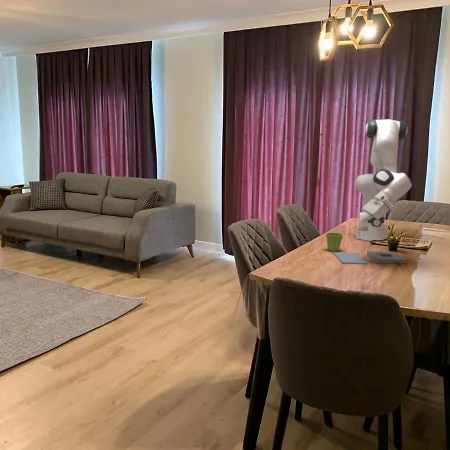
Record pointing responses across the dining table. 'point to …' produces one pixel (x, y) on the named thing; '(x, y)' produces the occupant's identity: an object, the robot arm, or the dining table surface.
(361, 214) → the white rounded cylinder
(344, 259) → the rubber mat
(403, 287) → the dining table surface
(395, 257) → the grey square frame
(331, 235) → the plant pot
